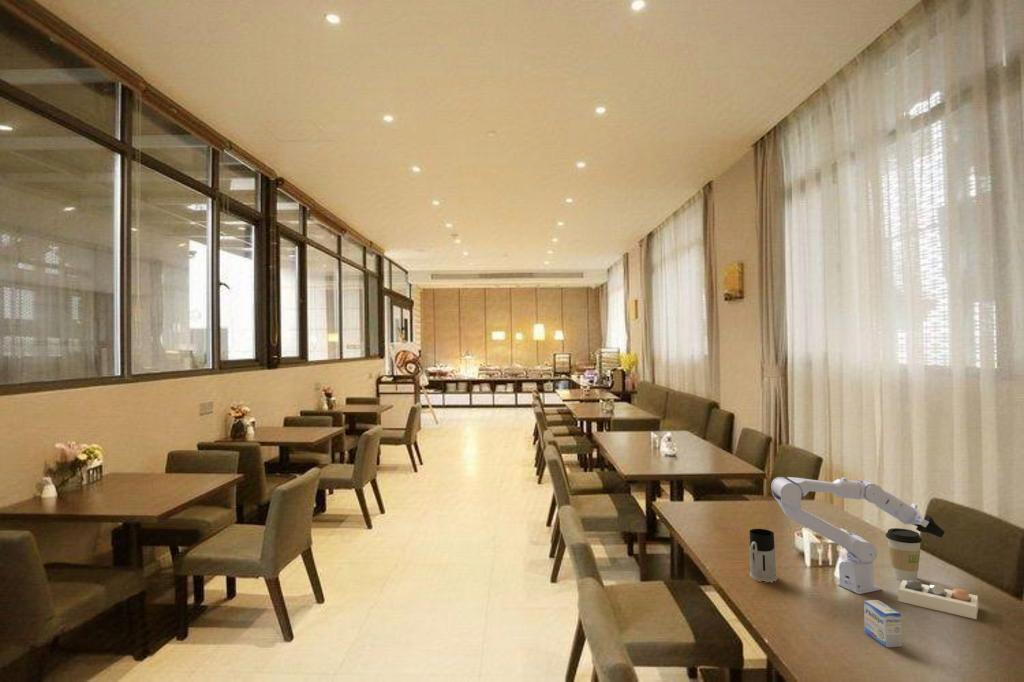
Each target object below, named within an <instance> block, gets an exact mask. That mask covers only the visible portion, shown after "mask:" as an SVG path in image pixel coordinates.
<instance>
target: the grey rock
mask: <svg viewBox="0 0 1024 682" xmlns="http://www.w3.org/2000/svg"><path fill="white" fill-rule="evenodd" d="M929 587H930V594H934V595H938V596H943V597H945V589H946V587H945V586H944V585H943V584H940V583H936V582H935V583H934V582H930V583H929Z"/></svg>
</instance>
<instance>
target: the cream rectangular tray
mask: <svg viewBox="0 0 1024 682" xmlns="http://www.w3.org/2000/svg"><path fill="white" fill-rule="evenodd" d="M897 594H898V595H897V596H898V602H899V603H900V602H901V603H905V604H909V605H913V606H918V607H922V608H926V609H931V610H934V611H939V612H942V613H943V612H944V613H948V614H951V615H956V616H961V617H964V618H970V619H973V620H977V618H978V612H979V596H978V595H977V594H976V595H975V594H973V593H972V594H971V593H969V602H966V601H961V600H957V599H953V589H948V588H945V597H943V596H938V595H934V594H930V587H929V585H928V584H924V583H922V592H920V591H915V590H911V589H907V581H906V580H902V581H901V583H900V584H899V587H898V589H897Z"/></svg>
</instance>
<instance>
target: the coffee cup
mask: <svg viewBox="0 0 1024 682" xmlns="http://www.w3.org/2000/svg"><path fill="white" fill-rule="evenodd" d="M885 537H886V539H887V542H888V543H887V544H888V545H887V546H888V547H887V548H888V553H889V557H890V559H889V560H890V564H891V568H892V574H893V578H894V579H896V580H897V581H901V582H902V580H906V581H907V579H917V580H918V573H919V566H920V558H921V557H920V556H921V543H922V542H923V540H922V537H921V535H920V533H919V532H918V531H916V530H911V529H906V528H897V527H896V528H894V527H893V528H889V529H887V532H886V534H885Z"/></svg>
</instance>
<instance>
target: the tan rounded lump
mask: <svg viewBox="0 0 1024 682" xmlns="http://www.w3.org/2000/svg"><path fill="white" fill-rule="evenodd" d="M952 590H953V599H957V600H961V601H966V602H969V594H970V592H969V590H967V589H964V588H960V587H954V588H952Z"/></svg>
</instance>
